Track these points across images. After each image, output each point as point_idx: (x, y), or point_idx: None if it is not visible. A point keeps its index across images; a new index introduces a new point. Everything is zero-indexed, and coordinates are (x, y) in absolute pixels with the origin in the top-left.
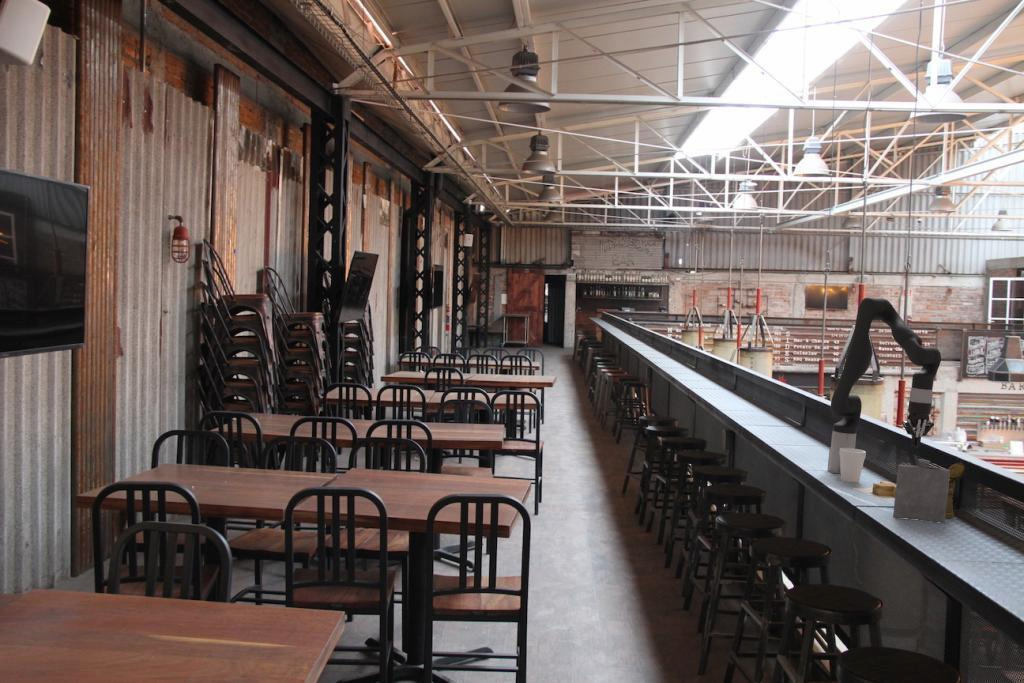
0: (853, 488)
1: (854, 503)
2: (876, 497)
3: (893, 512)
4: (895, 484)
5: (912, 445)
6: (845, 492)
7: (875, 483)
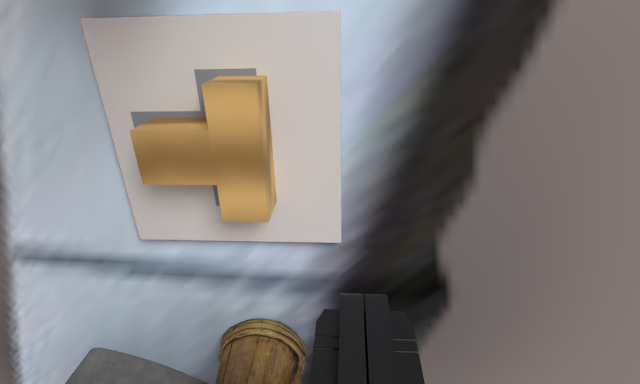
0: (87, 33)
1: (16, 227)
2: (128, 195)
3: (82, 361)
4: (255, 153)
5: (340, 303)
6: (42, 59)
7: (141, 133)
